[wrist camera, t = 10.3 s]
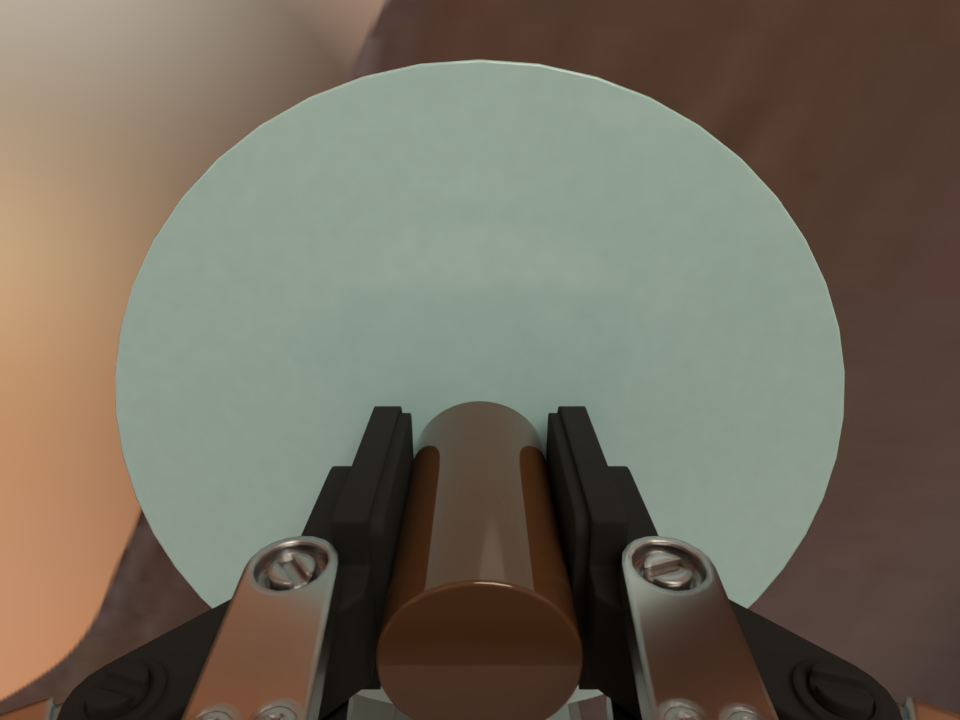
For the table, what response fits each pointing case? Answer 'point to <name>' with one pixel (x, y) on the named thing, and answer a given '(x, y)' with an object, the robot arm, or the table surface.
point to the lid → (479, 355)
